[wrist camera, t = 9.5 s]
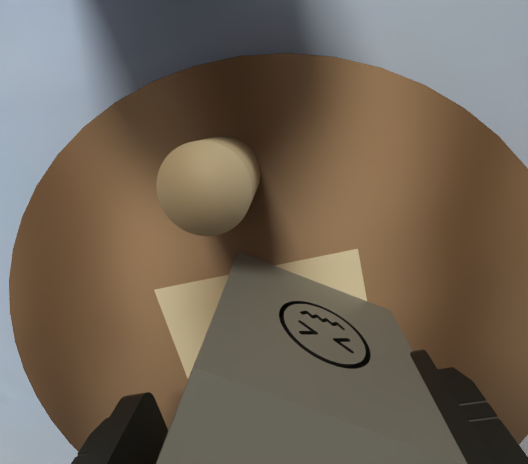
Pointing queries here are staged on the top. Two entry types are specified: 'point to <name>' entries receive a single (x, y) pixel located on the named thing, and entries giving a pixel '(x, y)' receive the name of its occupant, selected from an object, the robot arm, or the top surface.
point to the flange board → (269, 228)
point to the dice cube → (303, 381)
